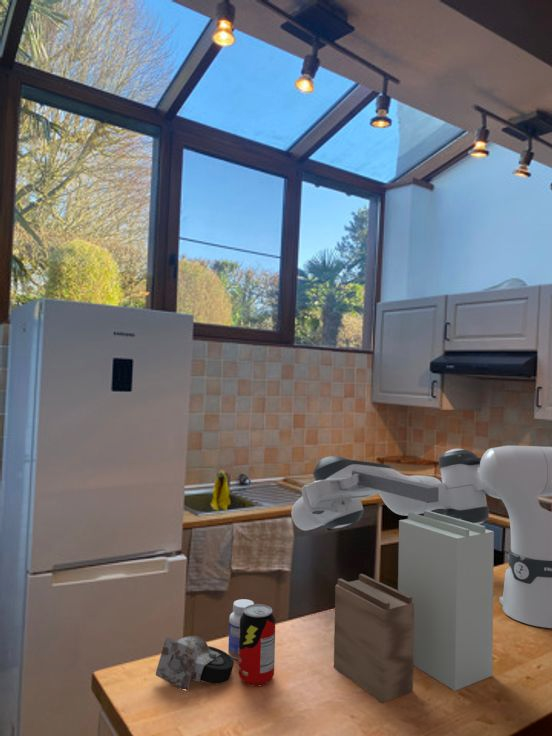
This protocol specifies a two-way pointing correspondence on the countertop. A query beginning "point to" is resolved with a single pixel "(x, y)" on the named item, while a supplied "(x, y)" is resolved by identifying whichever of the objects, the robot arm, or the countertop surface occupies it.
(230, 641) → the pill bottle
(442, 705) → the countertop surface
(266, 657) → the beverage can
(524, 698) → the countertop surface
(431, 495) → the bar
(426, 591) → the stand
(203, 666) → the caster wheel
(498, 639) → the countertop surface
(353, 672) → the chassis block
